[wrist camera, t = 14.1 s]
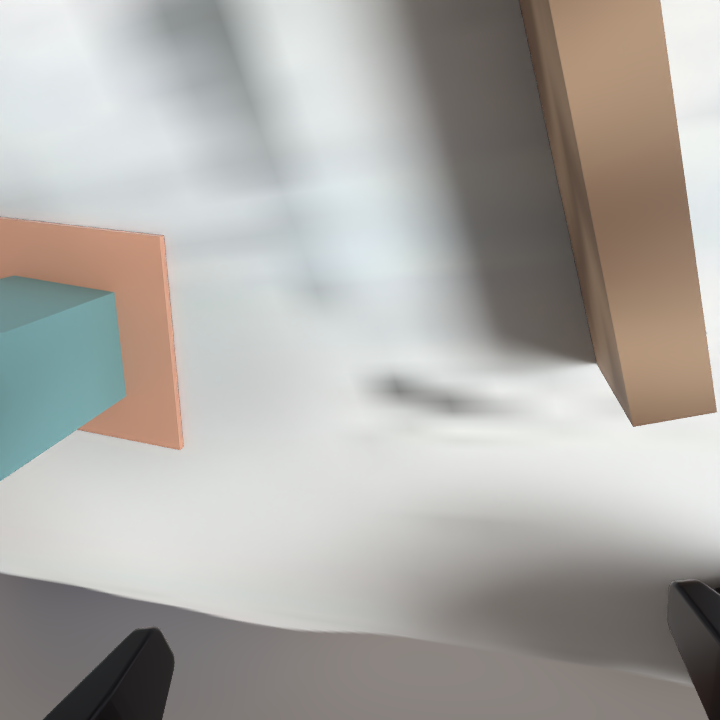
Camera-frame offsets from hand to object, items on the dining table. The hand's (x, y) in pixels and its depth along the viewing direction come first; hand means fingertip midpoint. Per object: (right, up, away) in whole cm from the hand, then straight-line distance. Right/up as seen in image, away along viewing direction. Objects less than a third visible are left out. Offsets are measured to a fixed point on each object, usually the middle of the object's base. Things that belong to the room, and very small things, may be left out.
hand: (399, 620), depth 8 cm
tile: (-14, +6, +14) cm, 20 cm away
